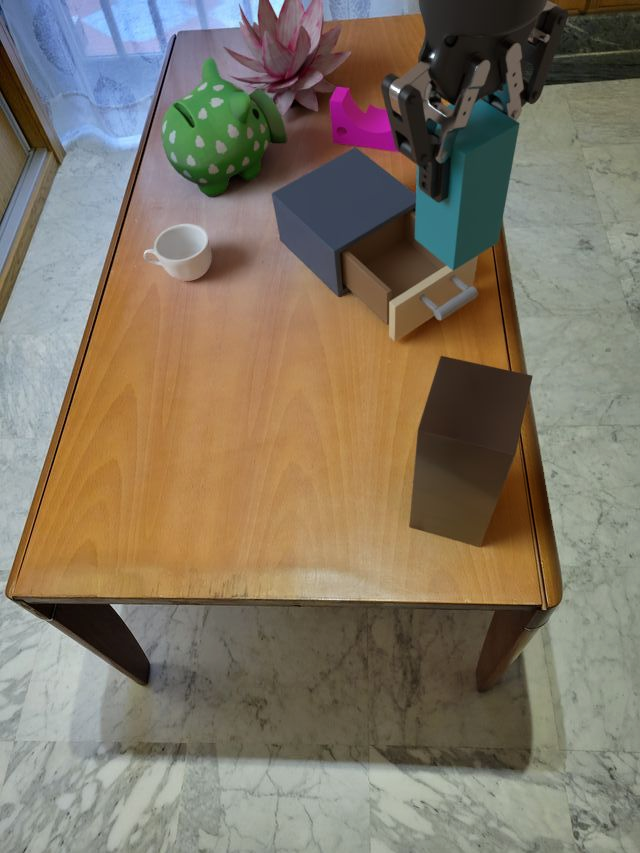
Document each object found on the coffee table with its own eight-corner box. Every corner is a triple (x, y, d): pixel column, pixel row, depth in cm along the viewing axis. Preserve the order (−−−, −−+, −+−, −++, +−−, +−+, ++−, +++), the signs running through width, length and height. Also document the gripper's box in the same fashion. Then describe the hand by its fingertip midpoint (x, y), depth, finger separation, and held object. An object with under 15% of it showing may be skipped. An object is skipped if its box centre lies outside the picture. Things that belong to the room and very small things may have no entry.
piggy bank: (297, 172, 103) (285, 84, 91) (198, 219, 100) (171, 133, 87) (257, 129, 110) (240, 40, 97) (163, 171, 107) (132, 85, 94)
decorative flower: (365, 116, 109) (362, 25, 96) (244, 144, 108) (225, 56, 95) (335, 50, 120) (329, -40, 107) (225, 75, 119) (205, -13, 106)
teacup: (218, 248, 96) (209, 220, 92) (215, 286, 92) (206, 259, 88) (153, 254, 97) (142, 227, 92) (148, 292, 93) (136, 265, 88)
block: (498, 242, 53) (520, 122, 44) (453, 271, 52) (465, 154, 43) (458, 212, 56) (471, 92, 46) (414, 239, 55) (417, 121, 45)
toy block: (429, 131, 106) (432, 87, 99) (420, 154, 103) (422, 112, 96) (344, 119, 109) (341, 77, 103) (332, 142, 106) (329, 100, 100)
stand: (494, 484, 73) (533, 375, 54) (480, 547, 69) (515, 454, 50) (426, 466, 75) (440, 355, 56) (408, 527, 71) (417, 430, 52)
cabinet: (419, 247, 93) (422, 198, 85) (338, 297, 89) (334, 251, 82) (357, 195, 99) (355, 146, 92) (280, 240, 96) (271, 193, 88)
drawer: (494, 309, 85) (502, 272, 79) (415, 362, 81) (418, 328, 75) (408, 237, 93) (409, 199, 87) (333, 283, 89) (329, 246, 84)
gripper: (433, -12, 31) (421, 249, 45) (640, -114, 34) (567, 160, 49) (343, -60, 34) (359, 197, 49) (538, -149, 37) (499, 117, 52)
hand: (463, 178), depth 49 cm, fingers closed on block, 5 cm apart
